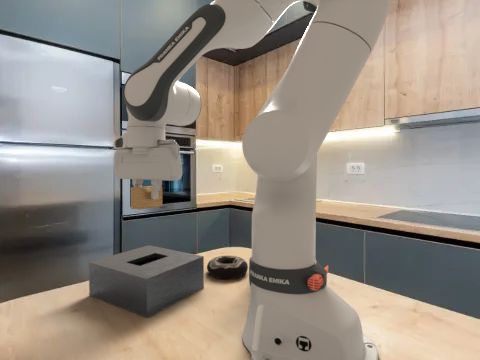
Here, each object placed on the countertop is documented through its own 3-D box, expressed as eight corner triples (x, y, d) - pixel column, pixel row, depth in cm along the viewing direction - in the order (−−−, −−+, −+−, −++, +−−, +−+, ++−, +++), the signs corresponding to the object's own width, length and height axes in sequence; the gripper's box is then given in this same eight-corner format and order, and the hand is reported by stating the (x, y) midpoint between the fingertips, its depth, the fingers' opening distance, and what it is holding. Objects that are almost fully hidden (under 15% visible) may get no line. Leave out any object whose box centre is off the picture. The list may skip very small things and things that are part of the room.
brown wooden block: (162, 206, 74) (162, 186, 74) (139, 209, 69) (139, 187, 68) (154, 205, 76) (153, 185, 76) (130, 208, 70) (130, 187, 70)
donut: (236, 284, 78) (236, 269, 78) (198, 276, 84) (198, 262, 83) (254, 270, 89) (254, 257, 89) (219, 264, 94) (219, 252, 94)
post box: (203, 287, 76) (203, 256, 75) (147, 318, 60) (146, 278, 60) (149, 272, 86) (148, 245, 86) (89, 295, 71) (88, 262, 71)
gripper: (188, 140, 69) (188, 200, 69) (130, 143, 80) (130, 195, 80) (167, 137, 63) (168, 202, 64) (108, 141, 74) (109, 197, 75)
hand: (147, 198), depth 72 cm, fingers closed on brown wooden block, 3 cm apart
